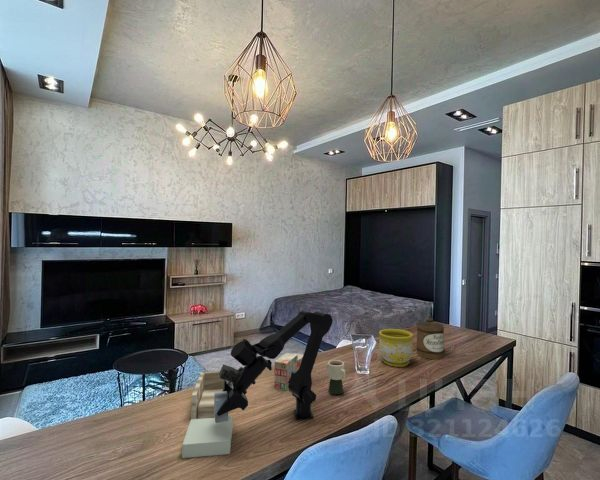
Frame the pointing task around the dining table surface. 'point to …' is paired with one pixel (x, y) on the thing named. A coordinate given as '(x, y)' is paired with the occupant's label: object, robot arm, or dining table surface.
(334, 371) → the character mug
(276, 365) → the stack of blocks
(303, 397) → the robot arm
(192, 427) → the pad
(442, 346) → the wooden container
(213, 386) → the beige stepped piece
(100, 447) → the dining table surface
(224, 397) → the slate block
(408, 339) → the flowerpot
